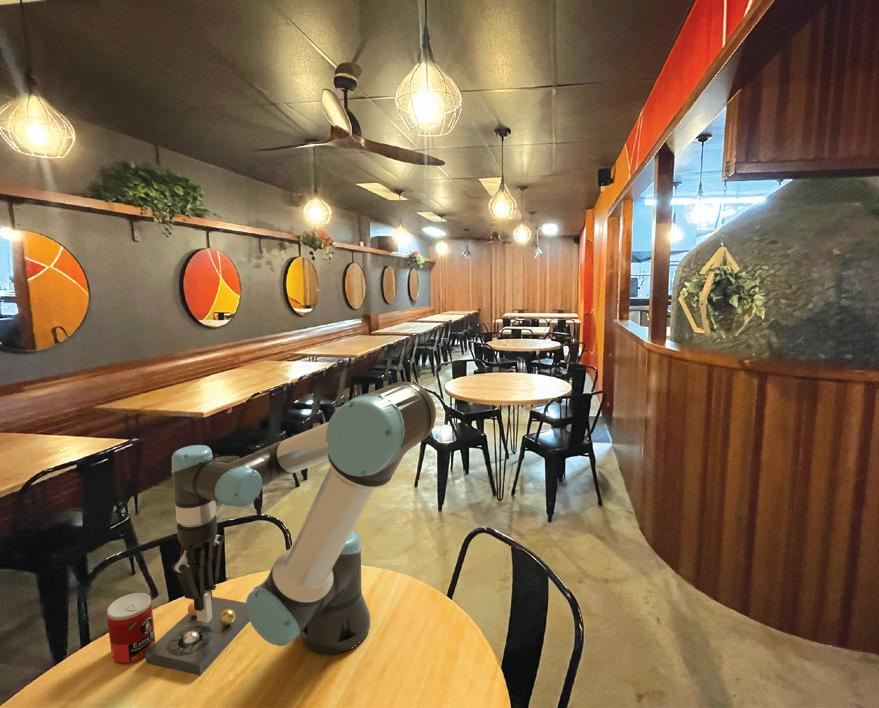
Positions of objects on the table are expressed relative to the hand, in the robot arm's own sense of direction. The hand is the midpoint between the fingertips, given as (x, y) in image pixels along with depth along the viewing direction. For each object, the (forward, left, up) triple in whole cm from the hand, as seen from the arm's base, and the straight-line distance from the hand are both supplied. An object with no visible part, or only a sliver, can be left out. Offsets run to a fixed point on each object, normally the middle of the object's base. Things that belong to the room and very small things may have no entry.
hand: (204, 619), depth 104 cm
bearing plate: (0, +1, -4) cm, 4 cm away
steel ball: (0, +4, -2) cm, 4 cm away
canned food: (+11, +8, -4) cm, 14 cm away
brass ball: (-5, -1, 0) cm, 5 cm away
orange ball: (+4, -2, 0) cm, 5 cm away
